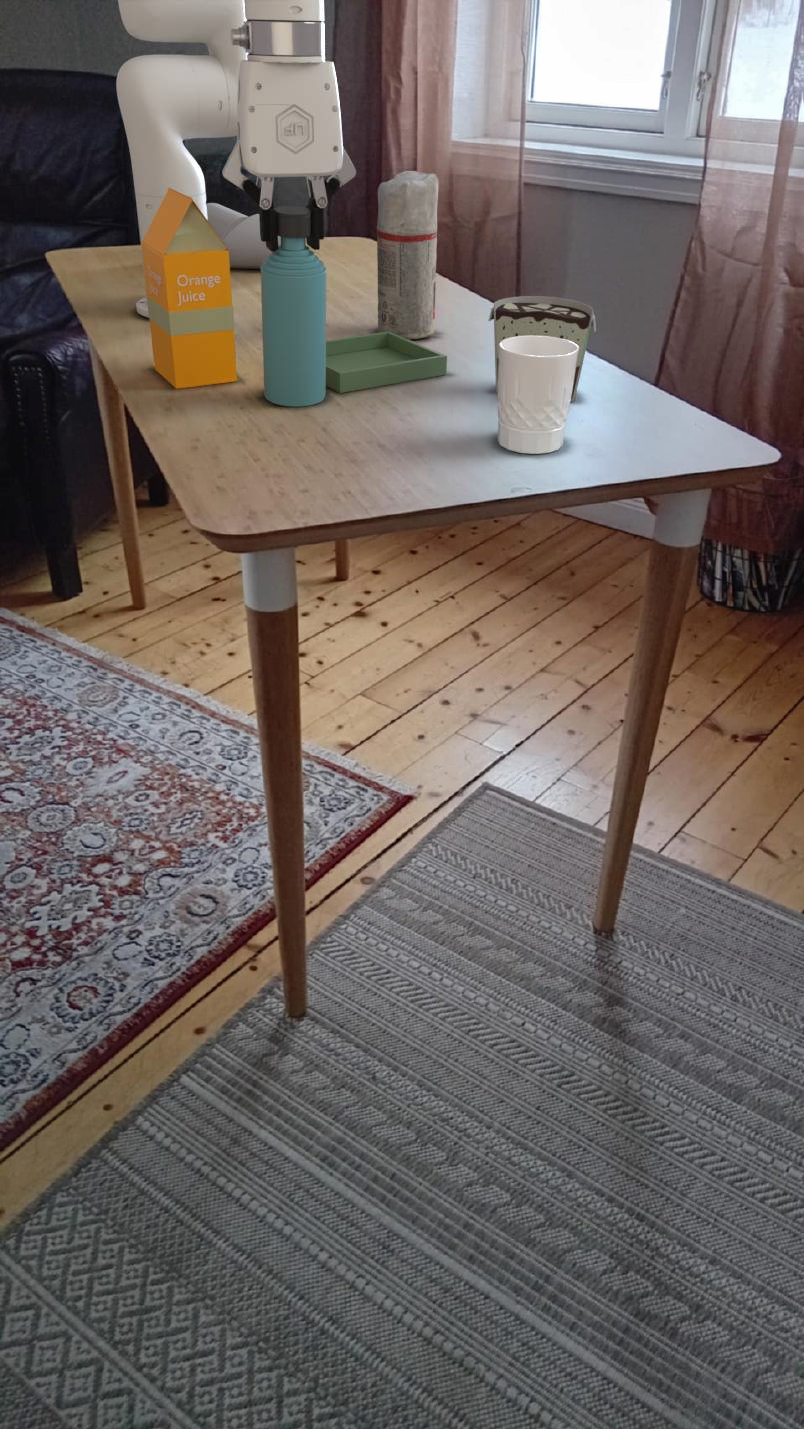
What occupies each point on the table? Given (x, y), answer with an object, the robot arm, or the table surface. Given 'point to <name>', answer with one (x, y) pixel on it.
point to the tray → (379, 361)
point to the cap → (293, 221)
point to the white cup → (534, 392)
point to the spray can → (407, 254)
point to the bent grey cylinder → (239, 236)
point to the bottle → (294, 325)
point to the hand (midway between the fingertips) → (292, 246)
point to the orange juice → (188, 296)
